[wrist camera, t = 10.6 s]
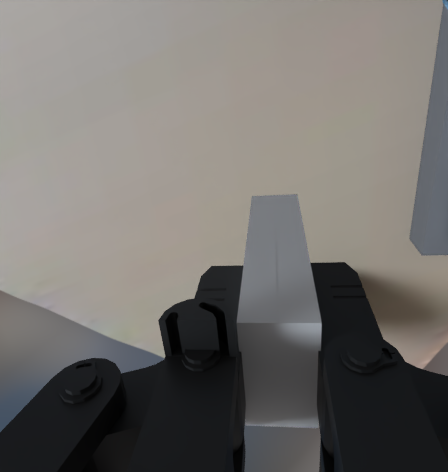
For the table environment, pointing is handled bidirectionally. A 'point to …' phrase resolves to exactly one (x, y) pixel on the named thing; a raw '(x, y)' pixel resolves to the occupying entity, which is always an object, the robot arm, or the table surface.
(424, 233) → the switch strip
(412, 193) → the table surface
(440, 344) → the table surface
